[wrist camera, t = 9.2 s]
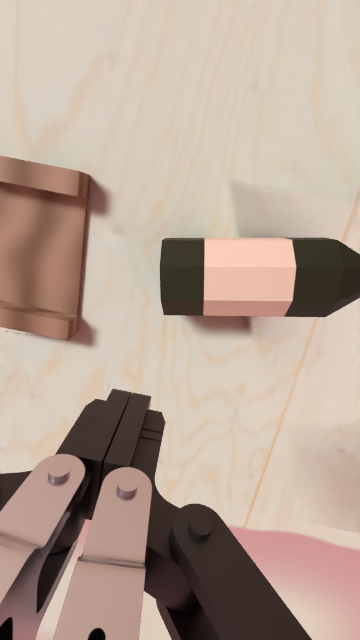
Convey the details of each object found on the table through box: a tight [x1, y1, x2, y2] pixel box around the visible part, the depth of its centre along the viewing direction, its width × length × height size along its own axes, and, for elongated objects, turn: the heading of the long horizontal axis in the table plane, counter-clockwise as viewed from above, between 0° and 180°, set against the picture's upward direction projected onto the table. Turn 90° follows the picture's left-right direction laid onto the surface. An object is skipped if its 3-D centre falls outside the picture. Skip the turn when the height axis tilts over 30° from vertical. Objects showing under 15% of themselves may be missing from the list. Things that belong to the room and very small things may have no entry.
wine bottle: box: [160, 238, 360, 317], centre depth 32 cm, size 8×8×30 cm
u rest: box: [0, 156, 90, 340], centre depth 35 cm, size 11×19×3 cm, turn 169°
